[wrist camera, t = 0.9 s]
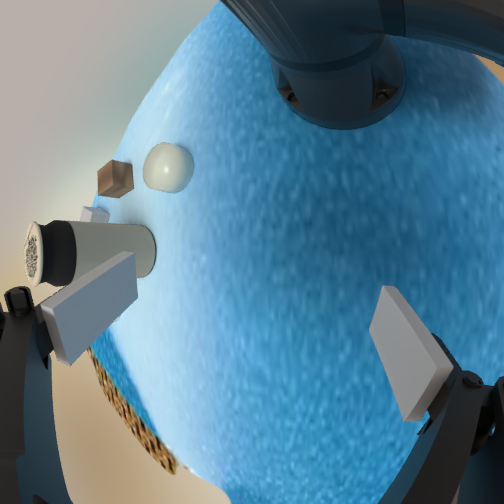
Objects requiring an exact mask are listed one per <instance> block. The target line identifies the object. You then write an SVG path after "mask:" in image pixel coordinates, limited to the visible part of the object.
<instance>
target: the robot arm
mask: <svg viewBox="0 0 504 504" xmlns="http://www.w3.org/2000/svg"><path fill="white" fill-rule="evenodd" d="M220 1H221V2H222V3H223V4H224V5H225V6H226V7H227V8H228V9H229V10H230V11H231V12H232V13H233V14H234V15H235V16H236V17H237V18H238V19H239V20H240V21H241V22H242V23H243V24H244V26H245V27H246V28H247V29H248V30H249V31H250V32H251V33H252V35H253V36H254V37H255V38H256V39H257V40H258V41H259V43H260V44H261V45H262V46H263V47H264V49H265V50H266V51H267V52H268V54H269V55H270V60H271V66H272V71H273V76H274V81H275V84H276V87H277V89H278V91H279V93H280V95H281V96H282V98H283V99H284V100H285V102H286V103H287V104H288V105H289V107H290V108H291V109H292V110H293V111H294V112H295V113H296V114H297V115H299V116H300V117H302V118H303V119H305V120H307V121H309V122H311V123H313V124H316V125H319V126H322V127H326V128H332V129H354V128H360V127H364V126H368V125H370V124H373V123H375V122H377V121H379V120H381V119H383V118H384V117H386V116H387V115H388V114H390V113H391V112H392V111H393V110H394V109H395V108H396V106H397V105H398V104H399V102H400V100H401V99H402V96H403V93H404V90H405V78H406V72H405V65H404V61H403V58H402V55H401V53H400V51H399V50H398V48H397V46H396V44H395V43H394V41H393V39H392V38H391V36H390V35H395V36H402V37H406V38H412V39H418V40H423V41H428V42H432V43H437V44H441V45H445V46H449V47H453V48H456V49H460V50H463V51H467V52H470V53H473V54H476V55H479V56H482V57H484V58H487V59H490V60H492V61H494V62H495V63H496V64H498V65H500V66H502V67H504V0H220ZM4 297H5V301H6V304H7V308H8V311H9V312H3V309H2V305H1V303H0V504H73V502H72V501H71V499H70V497H69V495H68V492H67V488H66V484H65V480H64V476H63V472H62V467H61V462H60V457H59V452H58V445H57V439H56V431H55V424H54V413H53V401H52V378H51V377H52V374H51V357H50V354H49V353H51V352H52V351H53V350H54V351H55V354H56V357H57V359H58V361H60V362H62V363H64V364H66V365H68V366H71V365H72V364H73V363H74V362H75V361H76V360H77V358H79V357H80V355H81V354H82V353H83V352H84V351H85V350H86V349H87V348H88V347H89V346H90V345H91V344H92V343H93V342H94V341H95V340H96V339H97V338H98V337H99V336H100V335H101V334H102V333H103V332H104V331H105V330H106V329H107V328H108V327H109V326H110V325H111V324H112V323H113V322H114V321H115V320H116V319H117V318H118V317H119V316H120V315H121V314H122V313H123V312H124V311H125V310H126V309H127V308H128V307H129V306H130V305H131V304H132V303H133V302H134V301H135V300H136V299H137V298H138V292H137V280H136V265H135V253H134V252H128V251H122V252H121V253H119V254H117V255H116V256H114V257H112V258H111V259H109V260H107V261H106V262H104V263H102V264H101V265H99V266H98V267H96V268H94V269H93V270H91V271H89V272H88V273H86V274H85V275H83V276H82V277H80V278H78V279H77V280H75V281H74V282H72V283H71V284H69V285H68V286H65V287H63V288H62V289H60V290H59V291H58V292H56V293H54V294H53V295H52V296H50V297H48V298H47V299H46V300H44V301H43V302H41V303H40V304H38V305H37V306H35V307H34V303H33V299H32V296H31V291H30V289H29V288H28V287H25V286H19V287H15V288H12V289H10V290H8V291H7V292H6V293H5V294H4ZM369 332H370V335H371V337H372V339H373V342H374V344H375V347H376V349H377V351H378V354H379V356H380V359H381V361H382V364H383V366H384V369H385V371H386V374H387V377H388V379H389V382H390V384H391V387H392V390H393V393H394V395H395V398H396V401H397V404H398V406H399V409H400V412H401V415H402V418H403V421H404V422H410V421H418V420H420V419H421V418H422V417H423V415H424V414H425V412H426V411H427V410H428V412H429V415H430V418H429V419H428V420H427V422H426V423H425V424H424V426H423V427H422V428H421V430H420V431H419V432H418V433H417V435H420V436H419V438H418V440H417V442H416V443H415V445H414V447H413V449H412V451H411V453H410V454H409V456H408V458H407V460H406V461H405V463H404V465H403V466H402V468H401V470H400V471H399V473H398V475H397V476H396V478H395V479H394V481H393V482H392V484H391V485H390V487H389V488H388V490H387V491H386V493H385V494H384V496H383V497H382V498H381V500H380V501H379V502H378V504H451V503H452V501H453V499H454V497H455V494H456V492H457V489H458V487H459V493H458V499H457V504H504V376H502V377H499V379H498V380H497V382H496V383H495V385H494V386H489V385H484V383H483V381H482V379H481V378H480V377H479V376H478V375H477V374H475V373H473V372H471V371H463V370H462V369H461V367H460V366H459V364H458V363H457V362H456V360H455V359H454V357H453V356H452V354H450V351H449V350H448V349H447V348H446V346H445V344H444V343H443V342H442V340H441V339H440V338H438V337H437V336H436V335H435V334H433V333H430V332H429V330H428V329H427V327H426V326H425V325H424V323H423V322H422V321H421V319H420V318H419V317H418V315H417V314H416V313H415V311H414V310H413V309H412V307H411V306H410V305H409V303H408V302H407V301H406V299H405V298H404V297H403V296H402V294H401V293H400V292H399V291H398V289H397V288H396V287H395V286H386V285H382V289H381V293H380V296H379V299H378V303H377V306H376V309H375V312H374V316H373V319H372V322H371V325H370V328H369ZM494 427H495V430H494V433H493V435H492V429H493V428H494ZM459 484H460V486H459Z"/></svg>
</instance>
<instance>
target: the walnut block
mask: <svg viewBox="0 0 504 504" xmlns="http://www.w3.org/2000/svg"><path fill="white" fill-rule="evenodd" d="M133 189H134V184H133V170H132V165H131V164H127V163H124V162H119V161H115V160H111V161H109V162H108V163H107V164H106V165H105V166H103V167H102V168H101V169H100V170H99V171H98V196H106V197H113V198H120V197H121V196H123V195H125V194H126V193H128V192H129V191H131V190H133Z"/></svg>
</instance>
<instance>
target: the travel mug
mask: <svg viewBox="0 0 504 504" xmlns="http://www.w3.org/2000/svg"><path fill="white" fill-rule="evenodd" d="M122 251H128V252H134V253H135V265H136V278H142V277H145V276H146V275H147V274H148V273H149V272H150V271H151V269H152V267H153V264H154V260H155V244H154V240H153V237H152V235H151V233H150V231H149V230H148V229H147V228H146V227H144V226H142V225H130V224H114V223H97V222H78V221H60V220H54V221H52V222H50V223H49V224H47V225H45V226H44V225H39V224H37V222H35V221H33V222H31V223H30V224H29V226H28V229H27V232H26V237H25V246H24V258H25V267H26V273H27V276H28V279H29V281H30V283H31V285H32V286H34V287H36V286H38V285H39V284H40V283H44V282H47V283H49V284H51V285H53V286H56V287H58V286H68V285H69V284H71V283H72V282H74V281H75V280H77V279H78V278H80V277H82V276H83V275H85V274H86V273H88V272H89V271H91V270H93V269H94V268H96V267H98V266H99V265H101V264H102V263H104V262H106V261H107V260H109V259H111V258H112V257H114V256H116V255H117V254H119V253H121V252H122Z"/></svg>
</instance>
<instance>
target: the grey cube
mask: <svg viewBox="0 0 504 504" xmlns="http://www.w3.org/2000/svg"><path fill="white" fill-rule="evenodd" d="M109 217H110V214H109V213H108V212H106V211H104V210H103V209H101V208H95V207H83V209H82V214H81V219H80V222H97V223H108V221H109Z"/></svg>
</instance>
